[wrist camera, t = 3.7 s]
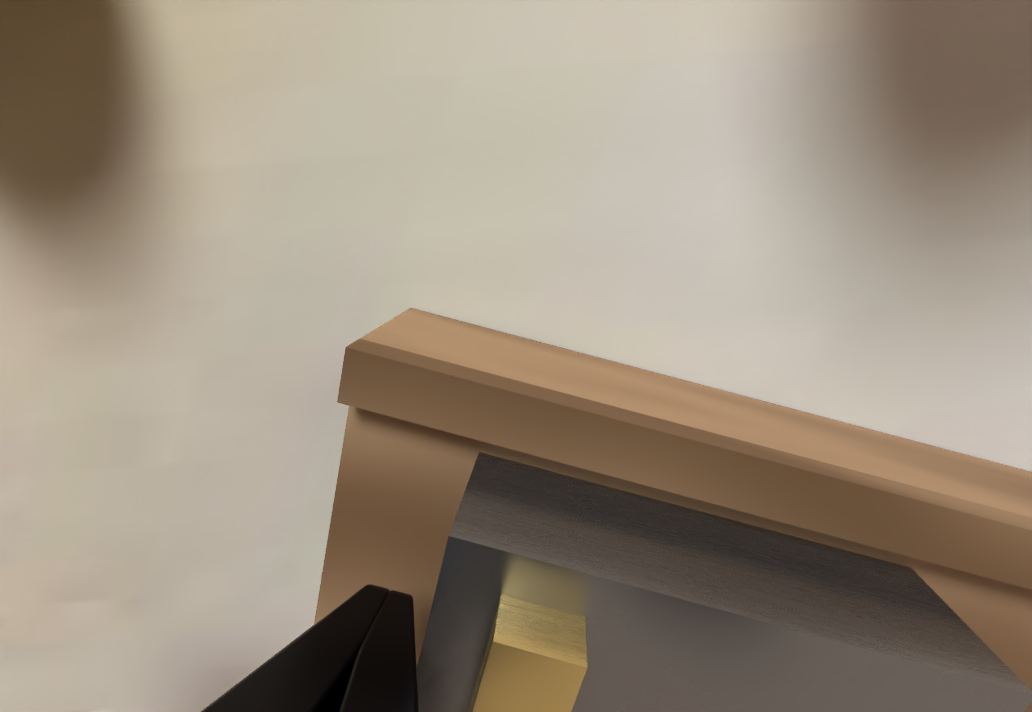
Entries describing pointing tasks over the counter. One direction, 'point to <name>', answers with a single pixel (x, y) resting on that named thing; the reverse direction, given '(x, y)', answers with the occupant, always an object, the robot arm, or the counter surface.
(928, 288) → the counter surface
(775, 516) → the body
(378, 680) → the robot arm
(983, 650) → the lever cap
